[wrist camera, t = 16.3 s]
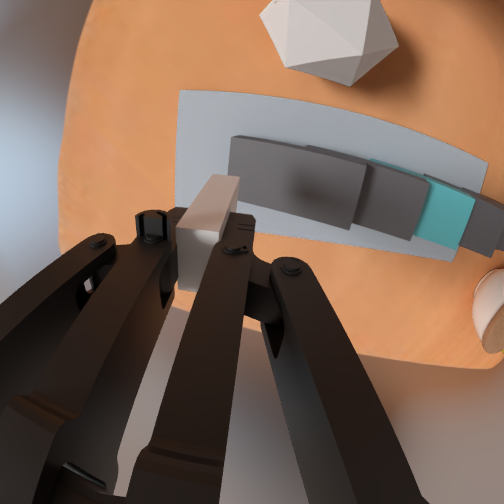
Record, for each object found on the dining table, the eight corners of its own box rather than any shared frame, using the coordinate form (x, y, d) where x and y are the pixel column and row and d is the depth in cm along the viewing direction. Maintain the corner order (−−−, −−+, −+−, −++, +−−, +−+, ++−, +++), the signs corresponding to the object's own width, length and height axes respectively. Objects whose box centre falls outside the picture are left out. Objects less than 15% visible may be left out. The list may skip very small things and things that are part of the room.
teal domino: (370, 158, 21) (469, 194, 18) (356, 211, 23) (451, 242, 21) (371, 160, 20) (475, 199, 17) (356, 217, 22) (455, 250, 20)
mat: (486, 162, 19) (488, 163, 19) (450, 260, 26) (452, 262, 25) (181, 90, 19) (179, 90, 19) (176, 219, 26) (175, 221, 25)
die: (352, -8, 14) (287, -67, 7) (426, 55, 13) (400, -8, 6) (293, 47, 20) (213, 16, 13) (354, 112, 19) (288, 92, 12)
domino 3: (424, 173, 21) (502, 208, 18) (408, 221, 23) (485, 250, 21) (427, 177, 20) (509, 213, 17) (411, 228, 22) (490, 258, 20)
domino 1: (239, 134, 21) (365, 162, 18) (233, 192, 23) (350, 222, 21) (230, 136, 20) (366, 166, 17) (225, 197, 22) (349, 230, 20)
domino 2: (308, 144, 21) (425, 179, 18) (297, 201, 23) (407, 233, 21) (304, 146, 20) (429, 183, 17) (293, 206, 22) (410, 241, 20)
